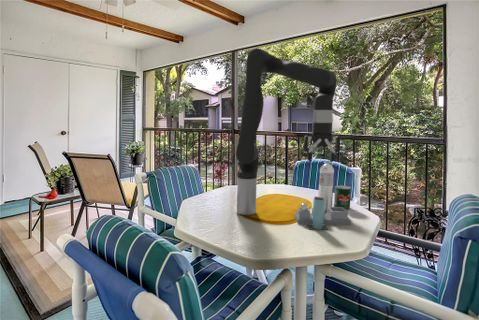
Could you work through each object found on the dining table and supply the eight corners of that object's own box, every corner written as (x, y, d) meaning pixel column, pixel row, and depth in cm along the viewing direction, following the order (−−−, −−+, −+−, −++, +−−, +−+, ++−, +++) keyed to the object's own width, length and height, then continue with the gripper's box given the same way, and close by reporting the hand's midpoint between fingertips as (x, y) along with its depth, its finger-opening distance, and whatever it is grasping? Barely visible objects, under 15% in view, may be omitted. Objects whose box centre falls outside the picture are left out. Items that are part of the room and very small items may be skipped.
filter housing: (297, 223, 131) (298, 211, 130) (294, 216, 140) (295, 205, 139) (351, 225, 130) (351, 212, 129) (344, 217, 139) (345, 206, 138)
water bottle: (332, 212, 146) (335, 162, 142) (317, 211, 147) (320, 161, 144) (331, 208, 153) (333, 160, 149) (317, 207, 154) (319, 159, 150)
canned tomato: (342, 204, 160) (343, 184, 158) (353, 208, 153) (354, 187, 151) (330, 206, 156) (331, 185, 155) (341, 210, 149) (342, 189, 148)
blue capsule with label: (311, 228, 125) (312, 197, 123) (313, 224, 129) (315, 195, 127) (321, 230, 123) (323, 199, 121) (323, 226, 127) (325, 196, 125)
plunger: (300, 215, 132) (301, 204, 132) (299, 213, 135) (300, 203, 134) (307, 216, 132) (307, 205, 131) (306, 213, 135) (306, 203, 134)
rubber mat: (308, 229, 124) (308, 228, 124) (306, 225, 129) (306, 224, 129) (328, 230, 124) (328, 229, 124) (325, 225, 129) (325, 224, 129)
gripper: (337, 121, 123) (335, 160, 126) (303, 121, 124) (301, 160, 126) (343, 122, 116) (340, 163, 118) (306, 121, 116) (304, 162, 119)
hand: (320, 161), depth 122 cm, fingers open, 8 cm apart
